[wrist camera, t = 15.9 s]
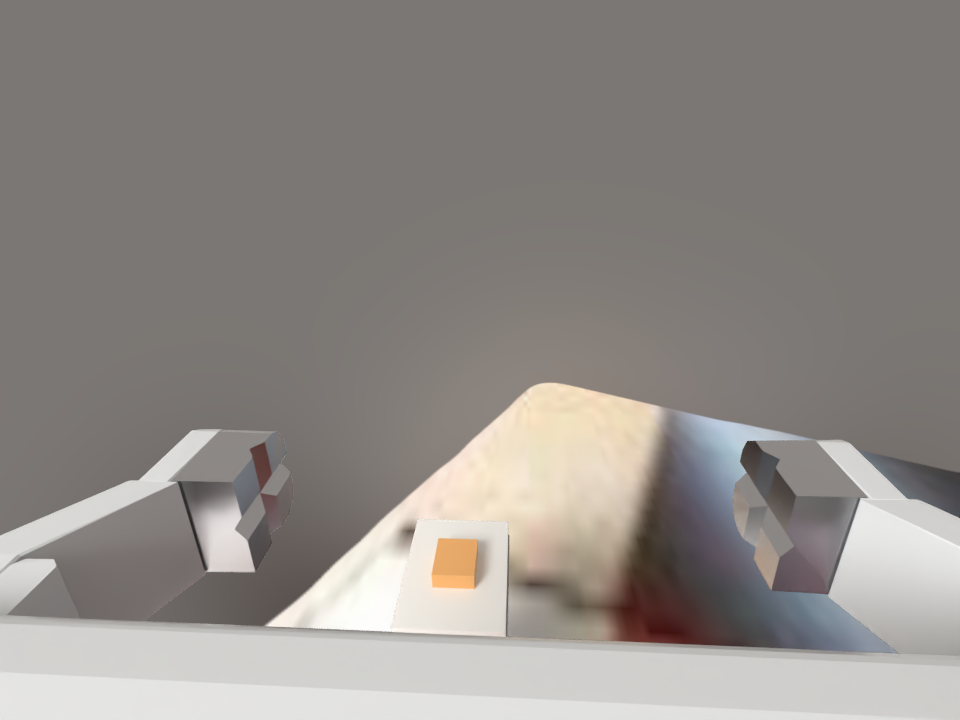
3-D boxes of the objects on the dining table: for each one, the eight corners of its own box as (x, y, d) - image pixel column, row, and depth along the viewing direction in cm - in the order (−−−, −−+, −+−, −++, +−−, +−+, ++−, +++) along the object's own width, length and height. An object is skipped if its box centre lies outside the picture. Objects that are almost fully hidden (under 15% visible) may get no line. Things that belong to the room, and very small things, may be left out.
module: (506, 818, 29) (506, 620, 23) (412, 812, 29) (387, 615, 23) (509, 690, 35) (509, 509, 29) (431, 686, 36) (416, 507, 30)
